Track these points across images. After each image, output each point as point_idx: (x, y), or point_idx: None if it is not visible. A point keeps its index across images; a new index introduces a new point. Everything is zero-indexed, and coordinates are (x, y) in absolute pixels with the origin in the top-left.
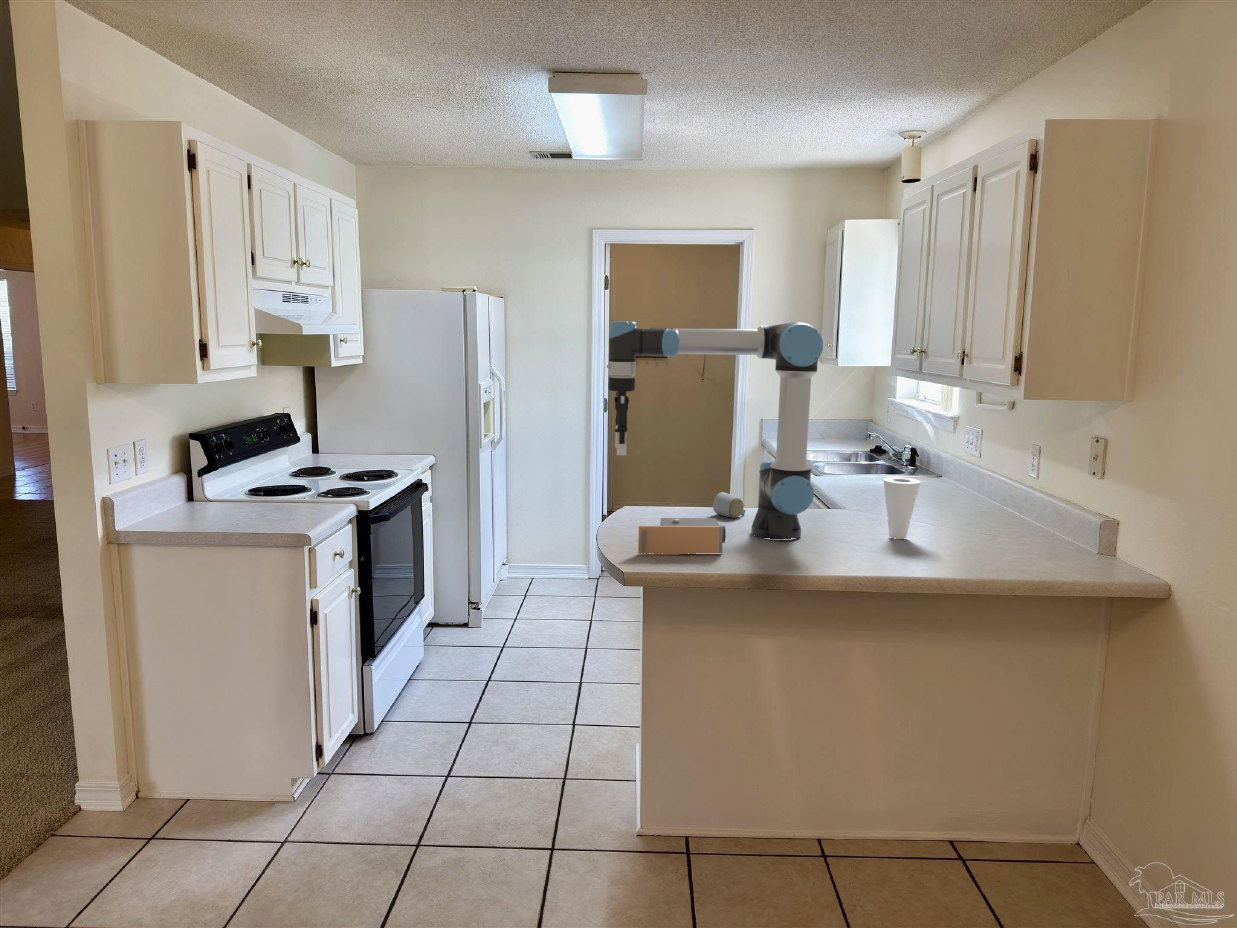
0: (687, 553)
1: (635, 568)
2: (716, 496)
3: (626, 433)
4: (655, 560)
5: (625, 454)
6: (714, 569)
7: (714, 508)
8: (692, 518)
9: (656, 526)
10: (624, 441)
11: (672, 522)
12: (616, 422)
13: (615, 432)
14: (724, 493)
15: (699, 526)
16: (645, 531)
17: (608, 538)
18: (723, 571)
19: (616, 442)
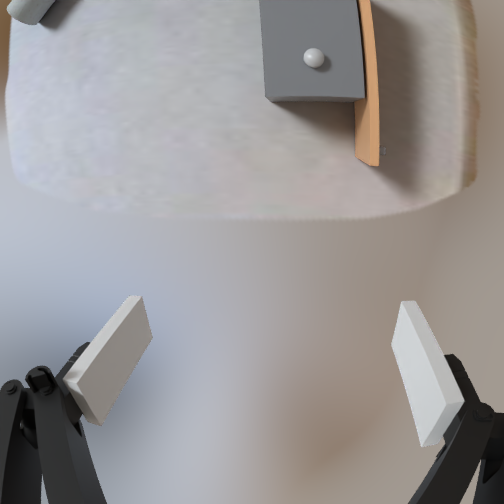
0: None
1: (444, 173)
2: (18, 17)
3: (460, 395)
4: (397, 125)
5: (416, 308)
6: (443, 29)
7: (35, 21)
8: (264, 14)
9: (377, 118)
10: (462, 365)
11: (317, 68)
12: (84, 436)
13: (115, 393)
14: (14, 4)
15: (367, 10)
16: (385, 148)
17: (227, 216)
18: (451, 19)
19: (140, 350)
